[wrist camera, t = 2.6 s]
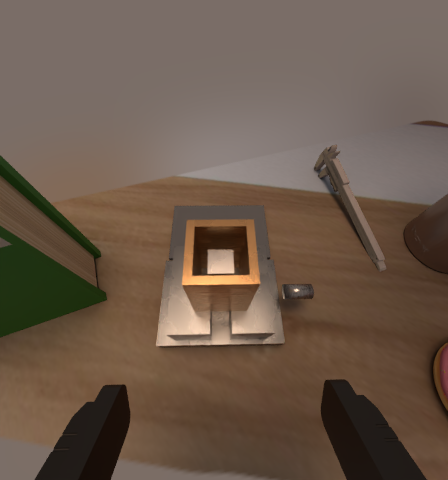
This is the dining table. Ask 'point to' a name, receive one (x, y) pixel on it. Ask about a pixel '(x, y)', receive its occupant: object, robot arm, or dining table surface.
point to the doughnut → (442, 373)
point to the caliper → (349, 202)
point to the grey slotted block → (224, 322)
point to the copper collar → (226, 286)
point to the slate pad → (217, 214)
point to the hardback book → (40, 258)
